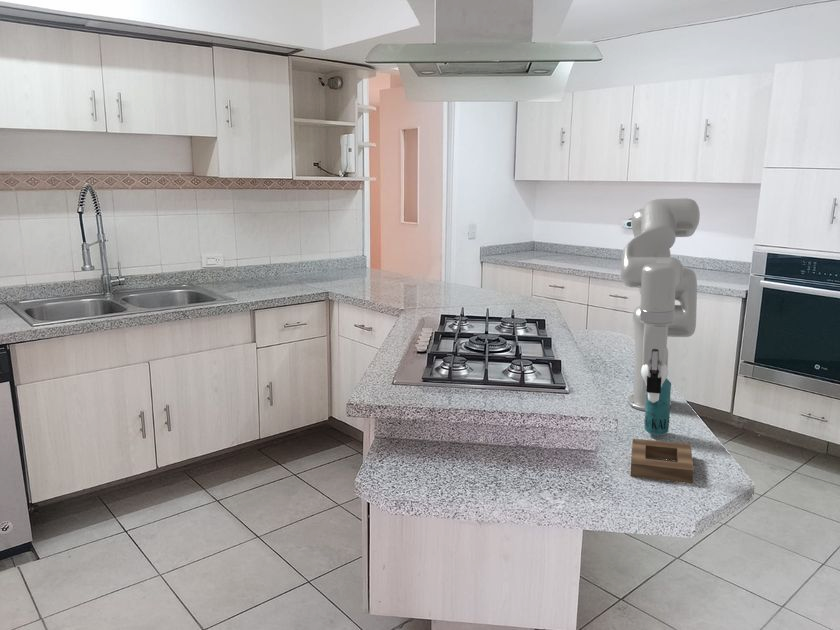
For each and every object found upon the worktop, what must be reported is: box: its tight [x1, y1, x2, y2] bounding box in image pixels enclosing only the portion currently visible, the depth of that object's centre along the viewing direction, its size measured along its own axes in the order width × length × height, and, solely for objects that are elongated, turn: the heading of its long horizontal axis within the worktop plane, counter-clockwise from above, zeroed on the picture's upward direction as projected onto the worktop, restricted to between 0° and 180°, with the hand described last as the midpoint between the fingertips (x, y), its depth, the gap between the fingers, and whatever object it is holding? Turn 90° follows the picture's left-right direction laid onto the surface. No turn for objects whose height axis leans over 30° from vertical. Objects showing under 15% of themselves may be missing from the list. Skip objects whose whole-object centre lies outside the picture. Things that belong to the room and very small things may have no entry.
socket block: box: [630, 438, 694, 484], centre depth 158 cm, size 14×14×4 cm
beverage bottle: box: [643, 378, 672, 436], centre depth 173 cm, size 6×7×20 cm
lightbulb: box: [641, 360, 669, 403], centre depth 154 cm, size 6×6×11 cm
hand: (653, 386), depth 154 cm, fingers closed on lightbulb, 5 cm apart
